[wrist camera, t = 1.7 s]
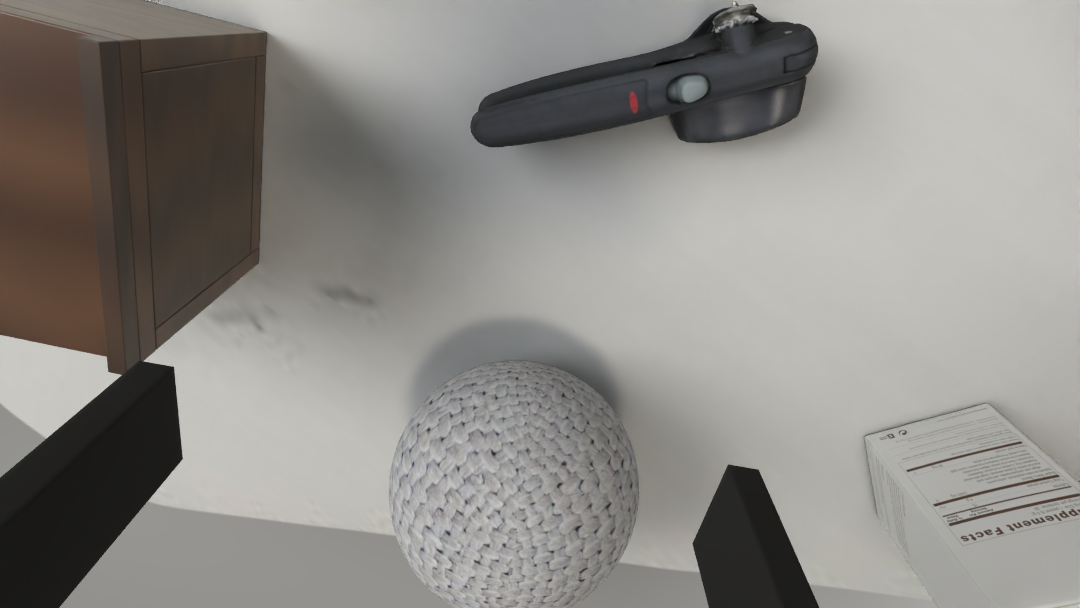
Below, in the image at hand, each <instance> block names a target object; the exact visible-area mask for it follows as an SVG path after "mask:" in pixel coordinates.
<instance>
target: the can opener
mask: <svg viewBox="0 0 1080 608" xmlns="http://www.w3.org/2000/svg"><path fill="white" fill-rule="evenodd" d="M756 9H757V8H756V7H755V6H754V5H753V4H749V5H742V6H739V5H738V4H737V2H736V1H733V2H732V7H730V8H724V9H721V10H719V11H717V12H715V13H713V14H712V15H710V16H709V17H708V18H707V19H706V20H705V21H704V22H703V23H702V24H701V25H700V26H699V27H698V28H697V29H696V30H695V31H694V32H693V34H692V35H691V36H690V37H689V38H688V39H687V40H685V41H683V42H681V43H678V44H676V45H673V46H669V47H666V48H663V49H660V50H657V51H653V52H650V53H646V54H641V55H638V56H633V57H629V58H623V59H619V60H614V61H609V62H604V63H599V64H595V65H590V66H586V67H582V68H577V69H573V70H569V71H565V72H561V73H556V74H553V75H549V76H545V77H541V78H538V79H535V80H531V81H528V82H525V83H522V84H518V85H515V86H512V87H509V88H507V89H503V90H501V91H498V92H495V93H492V94H490V95H488V96H487V97H485V98H484V99H483V100H482V102H481V103H480V106H479V109H478V112H477V113H476V114H475V115H474V116H473V118H472V121H471V133H472V134H473V136H474V138H475V139H476V140H477V141H478V142H479V143H481V144H482V145H485V146H488V147H504V146H513V145H521V144H528V143H534V142H541V141H548V140H554V139H560V138H566V137H572V136H577V135H582V134H587V133H592V132H596V131H602V130H606V129H611V128H614V127H619V126H623V125H628V124H632V123H636V122H640V121H644V120H647V119H652V118H657V117H660V116H664V115H669V114H670V116H671V119H672V121H673V125H674V128H675V130H676V133H677V136H678V138H679V139H680V140H682V141H685V142H695V143H711V142H724V141H731V140H736V139H741V138H746V137H749V136H753V135H757V134H759V133H763V132H766V131H768V130H771V129H774V128H776V127H779V126H781V125H783V124H785V123H787V122H789V121H791V120H792V119H793V118H796V117H797V116H798V114H799V112H800V108H801V104H802V100H803V95H804V90H805V83H806V76H805V75H806V74H808V73H809V72H810V70H811V69H812V67H813V66H814V64H815V61H816V57H817V54H818V45H817V41H816V37H815V35H814V34H813V32H812V31H811V30H810V29H809V28H808V27H807V26H804V25H801V24H793V23H789V22H771V21H769V20H767V19H766V18H764V17H763V16H761V15H760V14H758V13H757V12H756Z"/></svg>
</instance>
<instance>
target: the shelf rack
mask: <svg viewBox="0 0 1080 608" xmlns="http://www.w3.org/2000/svg"><path fill="white" fill-rule="evenodd" d="M265 55H266V32H265V31H261V30H257V29H253V28H249V27H246V26H242V25H238V24H234V23H230V22H226V21H222V20H219V19H215V18H211V17H207V16H203V15H199V14H195V13H192V12H188V11H184V10H180V9H176V8H172V7H169V6H165V5H161V4H157V3H153V2H149V1H145V0H0V335H4V336H9V337H14V338H19V339H23V340H28V341H33V342H38V343H43V344H48V345H53V346H58V347H62V348H67V349H72V350H77V351H82V352H87V353H92V354H97V355H101V356H106V357H107V362H108V371H109V372H111V373H116V374H121V375H123V374H124V373H125V372H127V371H128V370H129V369H130V368H131V367H132V366H134V365H135V364H136V363H137V362H138V361H144V360H145V359H146V358H147V357H149V356H150V355H151V354H152V353H153V352H155V350H156V349H158V348H159V347H160V346H161V345H162V344H164V343H165V342H166V341H167V340H168V339H170V338H171V337H172V336H173V335H174V334H175V333H177V332H178V331H179V330H180V329H181V328H182V327H184V326H185V325H186V324H187V323H188V322H190V321H191V320H192V319H193V318H194V317H195V316H197V315H198V314H199V313H200V312H201V311H203V310H204V309H205V308H206V307H207V306H208V305H210V304H211V303H212V302H213V301H214V300H215V299H217V298H218V297H219V296H220V295H221V294H223V293H224V292H225V291H226V290H227V289H228V288H230V287H231V286H232V285H233V284H234V283H236V282H237V281H238V280H239V279H240V278H241V277H243V276H244V275H245V274H246V273H247V272H248V271H250V270H251V269H252V268H253V267H254V266H256V265H257V264H258V255H259V231H260V202H261V173H262V144H263V115H264V86H265V58H266V56H265Z"/></svg>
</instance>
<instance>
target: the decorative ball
mask: <svg viewBox="0 0 1080 608" xmlns="http://www.w3.org/2000/svg"><path fill="white" fill-rule="evenodd" d="M389 502H390V511H391V518H392V522H393V527H394V530H395V533H396V537H397V539H398V542H399V544H400V547H401V549H402V551H403V553H404V556H405V557H406V559H407V561H408V563H409V564H410V566H411V568H412V569H413V570H414V572H415V573H416V575H417V576H418V577H419V579H420V580H421V581H422V582H423V583H424V584H425V585H426V586H427V587H428V588H429V589H430V590H431V591H432V592H433V593H435V594H436V595H437V596H438V597H439V598H441V599H443V600H444V601H445V602H447V603H449V604H450V605H452V606H454V607H456V608H570V607H572V606H574V605H576V604H577V603H579V602H580V601H582V600H583V599H585V598H586V597H588V596H589V595H590V594H591V593H592V592H593V591H595V590H596V588H598V587H599V586H600V585H601V584H602V583H603V582H604V581H605V579H606V578H607V577H608V576H609V574H610V573H611V571H612V570H613V569H614V567H615V566H616V565H617V563H618V561H619V560H620V558H621V556H622V555H623V553H624V551H625V549H626V547H627V545H628V542H629V540H630V537H631V535H632V532H633V528H634V525H635V521H636V516H637V511H638V503H639V476H638V469H637V463H636V459H635V455H634V451H633V448H632V445H631V442H630V440H629V437H628V435H627V433H626V431H625V429H624V427H623V425H622V423H621V421H620V420H619V418H618V416H617V415H616V413H615V412H614V410H613V409H612V408H611V406H610V405H609V404H608V403H607V402H606V401H605V400H604V398H603V397H602V396H601V395H600V394H598V393H597V392H596V391H595V390H594V389H593V388H592V387H590V386H589V385H588V384H586V383H585V382H583V381H582V380H580V379H579V378H577V377H575V376H574V375H572V374H570V373H568V372H565V371H563V370H561V369H559V368H556V367H553V366H549V365H546V364H542V363H537V362H529V361H501V362H494V363H490V364H485V365H481V366H478V367H475V368H472V369H470V370H467V371H465V372H463V373H461V374H459V375H457V376H455V377H453V378H452V379H450V380H449V381H447V382H446V383H444V384H443V385H442V386H440V387H439V388H438V389H437V390H436V391H435V392H434V393H432V394H431V395H430V396H429V397H428V398H427V399H426V400H425V402H424V403H423V404H422V405H421V406H420V407H419V409H418V410H417V411H416V412H415V414H414V415H413V417H412V418H411V420H410V421H409V423H408V425H407V426H406V428H405V430H404V432H403V434H402V436H401V438H400V441H399V443H398V446H397V448H396V451H395V455H394V458H393V462H392V467H391V473H390V482H389Z"/></svg>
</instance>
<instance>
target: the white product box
mask: <svg viewBox="0 0 1080 608" xmlns="http://www.w3.org/2000/svg"><path fill="white" fill-rule="evenodd" d="M865 444H866V450H867V456H868V462H869V467H870V473H871V479H872V485H873V491H874V497H875V503H876V508H877V514H878V518H879V520H880V522H881V523H882V525H883V526H884V528H885V529H886V531H887V532H888V534H889V535H890V537H891V538H892V540H893V541H894V543H895V544H896V546H897V547H898V549H899V550H900V552H901V553H902V555H903V556H904V558H905V559H906V561H907V562H908V564H909V565H910V567H911V568H912V570H913V571H914V573H915V574H916V576H917V577H918V579H919V580H920V582H921V583H922V585H923V586H924V587H925V589H926V591H927V592H928V594H929V595H930V596H931V598H932V599H933V601H934V602H935V604H936V605H937V607H938V608H1080V483H1079V482H1078V481H1077V480H1076V479H1074V478H1073V477H1072V476H1071V475H1070V474H1069V473H1068V472H1066V471H1065V470H1064V469H1063V468H1062V467H1061V466H1060V465H1058V464H1057V463H1056V462H1055V461H1054V460H1053V459H1052V458H1051V457H1049V456H1048V455H1047V454H1046V453H1045V452H1044V451H1042V450H1041V449H1040V448H1039V447H1038V446H1037V445H1036V444H1035V443H1033V442H1032V441H1031V440H1030V439H1029V438H1028V437H1026V436H1025V435H1024V434H1023V433H1022V432H1021V431H1020V430H1018V429H1017V428H1016V427H1015V426H1014V425H1013V424H1012V423H1010V422H1009V421H1008V420H1007V419H1006V418H1005V417H1003V416H1002V415H1001V414H1000V413H999V412H998V411H997V410H996V409H994V408H993V407H992V406H991V405H990V404H988V403H986V404H982V405H978V406H975V407H971V408H967V409H964V410H960V411H956V412H953V413H949V414H945V415H941V416H937V417H934V418H930V419H926V420H922V421H919V422H915V423H911V424H908V425H904V426H900V427H897V428H893V429H889V430H886V431H882V432H879V433H875V434H871V435H867V436H866V437H865Z"/></svg>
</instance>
